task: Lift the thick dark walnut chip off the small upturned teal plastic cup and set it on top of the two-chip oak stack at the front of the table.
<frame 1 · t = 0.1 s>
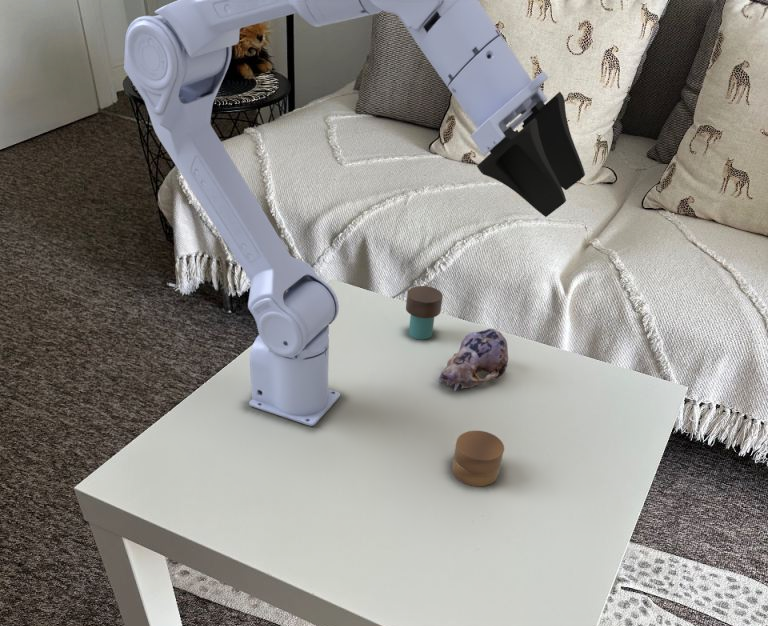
hand: (566, 195, 64), 32 cm above the table, tool tilted 50°, fingers open, 7 cm apart
middle chip: (477, 458, 84), point 2 cm above the table, touching bottom chip
teal cup: (420, 333, 108), on the table
bottom chip: (475, 471, 85), on the table, touching middle chip
walnut chip: (423, 309, 105), point 4 cm above the table, touching teal cup
skull: (468, 376, 101), on the table
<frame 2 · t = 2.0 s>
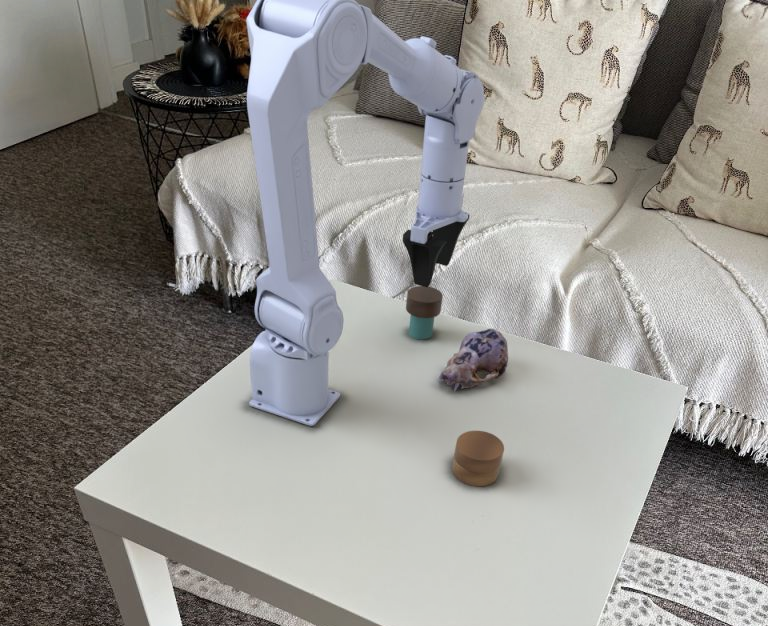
hand: (431, 273, 101), 10 cm above the table, tool pointing down, fingers open, 7 cm apart
nothing on the table moved.
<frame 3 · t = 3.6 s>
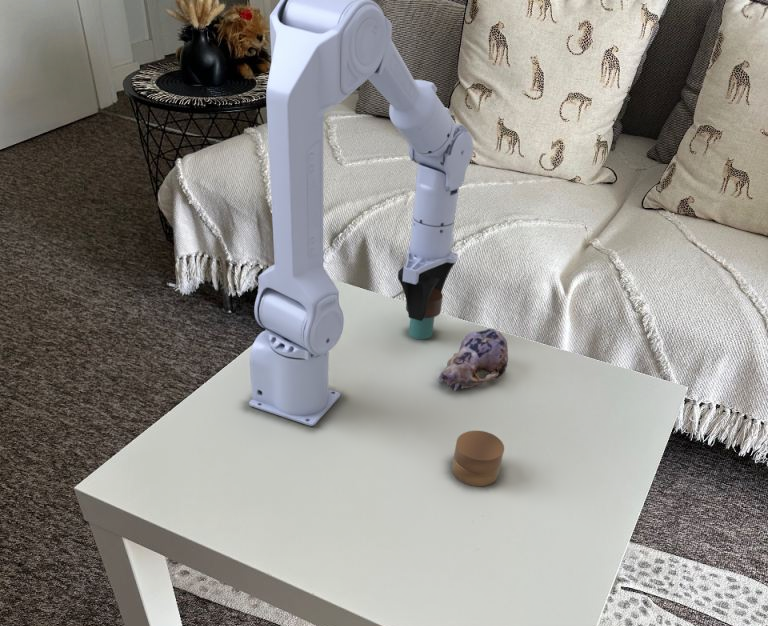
hand: (423, 310, 105), 4 cm above the table, tool pointing down, fingers closed on walnut chip, 5 cm apart
walnut chip: (423, 309, 105), point 4 cm above the table, touching gripper, teal cup
everything else where it was.
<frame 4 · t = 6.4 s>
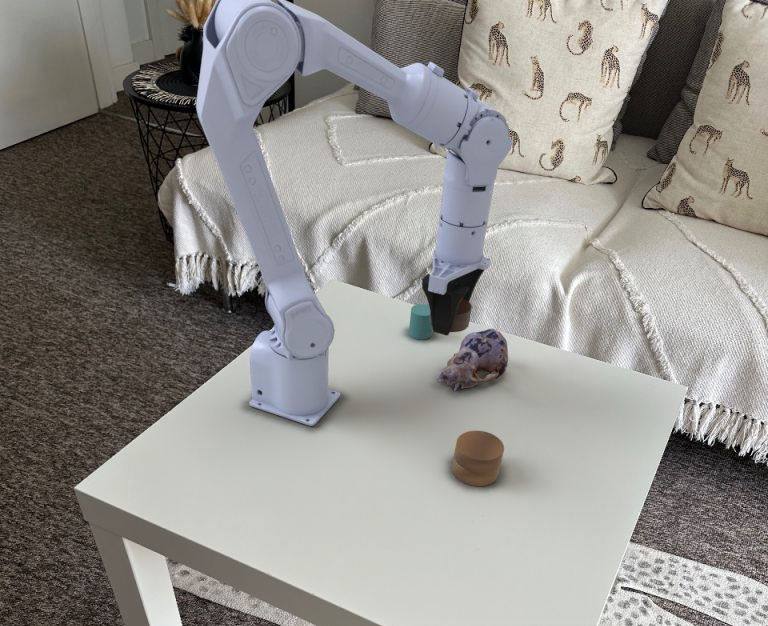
hand: (448, 323, 92), 9 cm above the table, tool pointing down, fingers closed on walnut chip, 5 cm apart
walnut chip: (449, 322, 92), point 9 cm above the table, touching gripper
everything else where it was.
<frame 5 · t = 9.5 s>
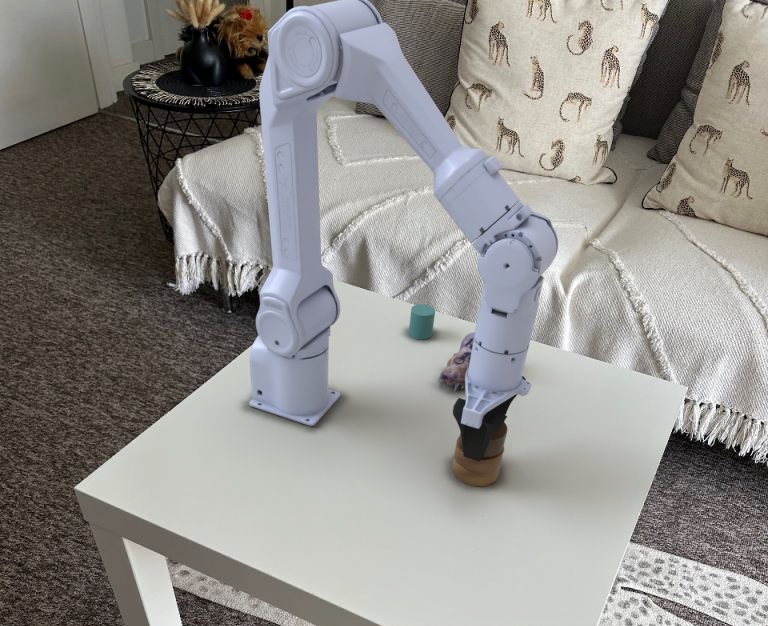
hand: (480, 443, 82), 4 cm above the table, tool pointing down, fingers closed on walnut chip, 5 cm apart
walnut chip: (481, 443, 82), point 4 cm above the table, touching gripper
everything else where it was.
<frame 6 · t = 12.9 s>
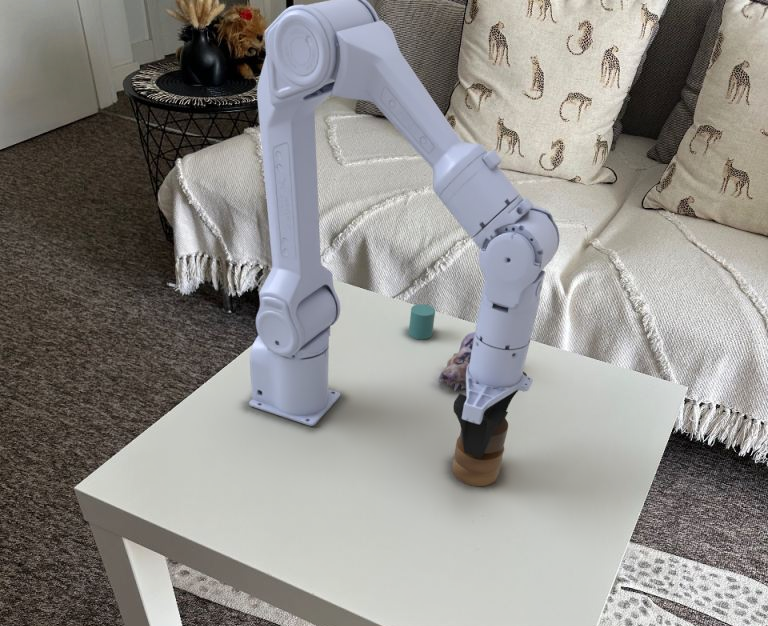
hand: (481, 440, 82), 5 cm above the table, tool pointing down, fingers closed on walnut chip, 5 cm apart
walnut chip: (482, 439, 82), point 5 cm above the table, touching gripper
everything else where it was.
when the fingers open (5 cm above the table, at t = 16.2 s): walnut chip drops 1 cm, resting on middle chip.
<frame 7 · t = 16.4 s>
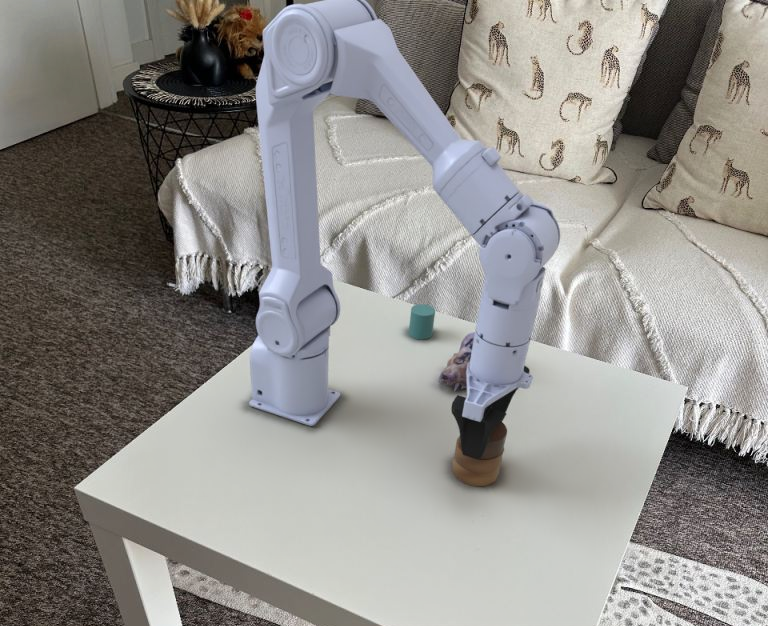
hand: (481, 438, 82), 5 cm above the table, tool pointing down, fingers open, 7 cm apart
middle chip: (477, 458, 84), point 2 cm above the table, touching bottom chip, walnut chip
walnut chip: (481, 445, 82), point 4 cm above the table, touching middle chip
everything else where it was.
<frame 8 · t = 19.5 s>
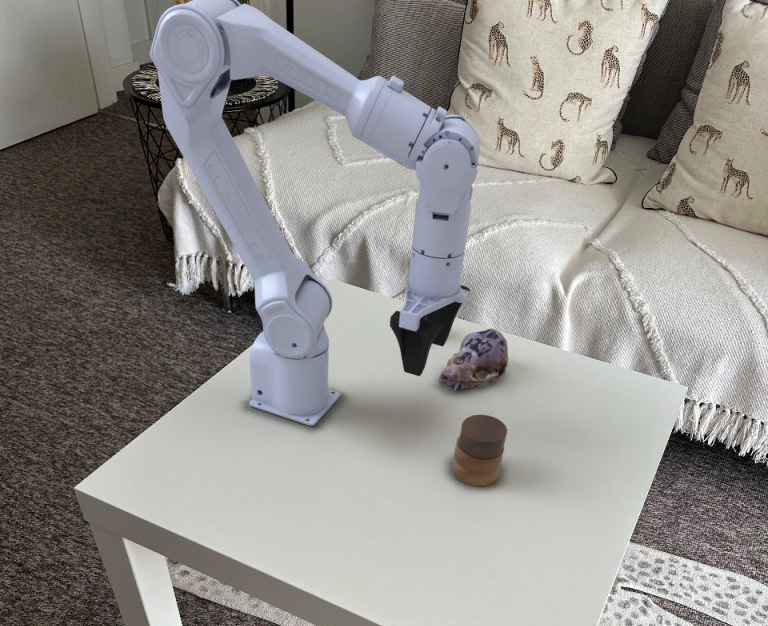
hand: (424, 357, 85), 9 cm above the table, tool pointing down, fingers open, 7 cm apart
nothing on the table moved.
at the end: walnut chip 0.1 cm off-centre on the middle chip, point 2.0 cm above the middle chip's base; walnut chip tilted 0°; the gripper is holding nothing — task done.
